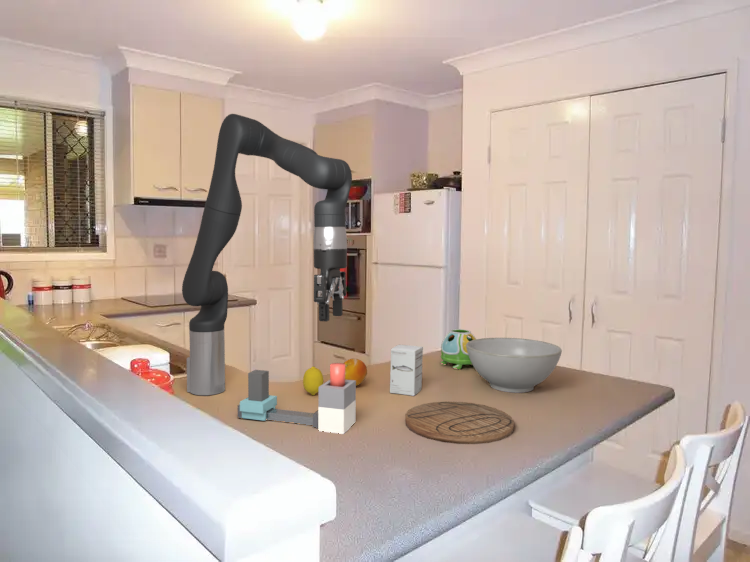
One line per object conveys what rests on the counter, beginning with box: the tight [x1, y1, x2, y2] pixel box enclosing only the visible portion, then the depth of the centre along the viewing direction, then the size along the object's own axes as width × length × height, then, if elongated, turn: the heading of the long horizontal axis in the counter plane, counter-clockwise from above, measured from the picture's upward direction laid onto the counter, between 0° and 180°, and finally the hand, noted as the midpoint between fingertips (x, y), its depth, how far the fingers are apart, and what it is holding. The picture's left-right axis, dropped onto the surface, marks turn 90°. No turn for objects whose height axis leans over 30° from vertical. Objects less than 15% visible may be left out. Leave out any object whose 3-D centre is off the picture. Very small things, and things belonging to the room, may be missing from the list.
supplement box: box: [389, 344, 424, 397], centre depth 155 cm, size 7×7×13 cm
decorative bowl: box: [466, 337, 563, 394], centre depth 161 cm, size 27×27×12 cm
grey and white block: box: [317, 379, 357, 435], centre depth 126 cm, size 6×8×10 cm
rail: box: [237, 403, 318, 429], centre depth 130 cm, size 20×5×3 cm, turn 73°
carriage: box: [239, 369, 278, 422], centre depth 132 cm, size 6×7×11 cm
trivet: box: [404, 401, 515, 445], centre depth 129 cm, size 25×25×2 cm
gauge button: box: [329, 362, 345, 387], centre depth 126 cm, size 3×3×6 cm
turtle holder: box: [440, 328, 477, 370], centre depth 186 cm, size 12×18×12 cm
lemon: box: [302, 366, 325, 396], centre depth 151 cm, size 6×6×8 cm
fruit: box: [343, 357, 368, 387], centre depth 160 cm, size 8×9×8 cm
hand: (331, 318), depth 127 cm, fingers open, 8 cm apart
